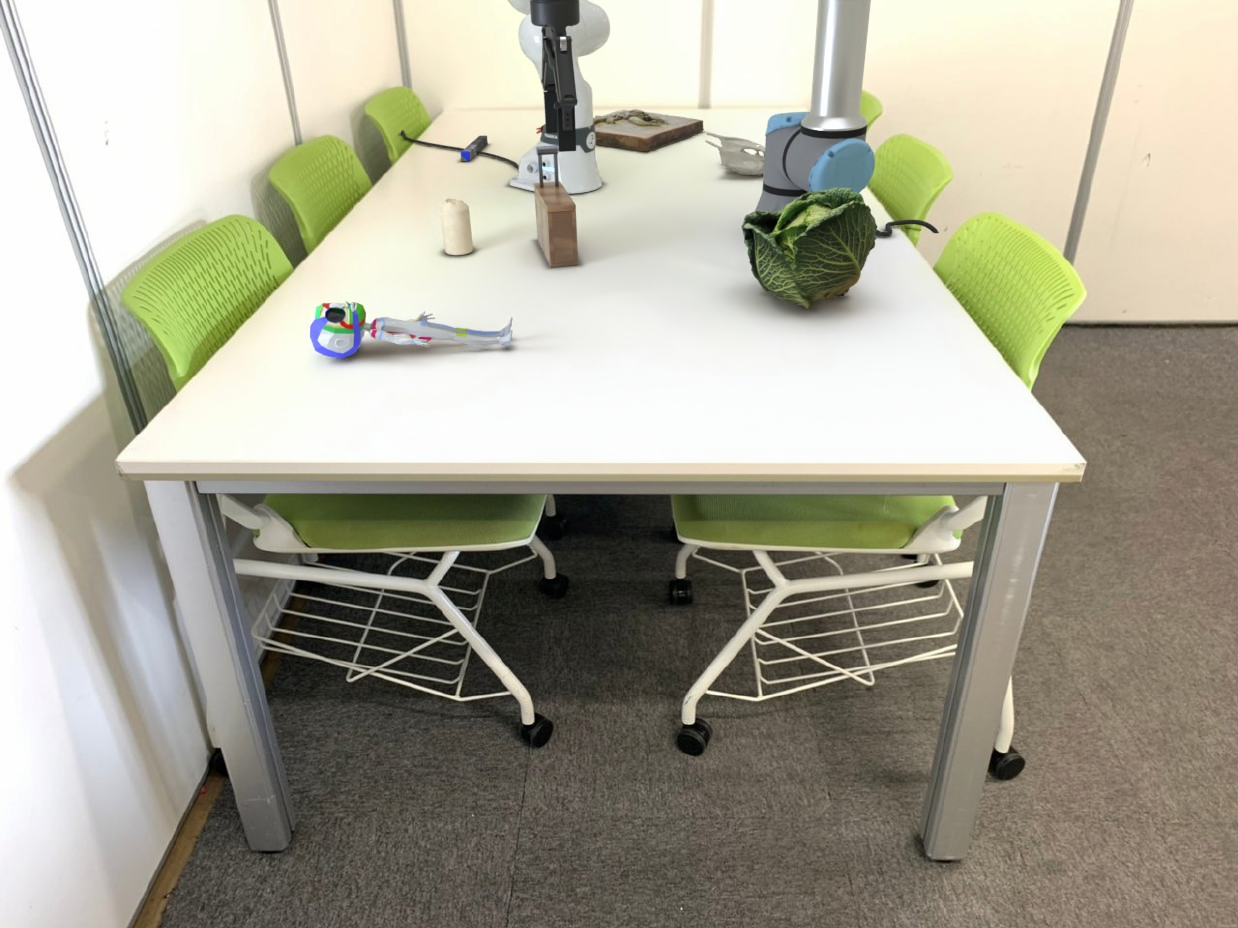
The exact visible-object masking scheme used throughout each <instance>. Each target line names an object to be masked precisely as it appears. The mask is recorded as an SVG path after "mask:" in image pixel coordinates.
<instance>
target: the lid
mask: <svg viewBox="0 0 1238 928" xmlns="http://www.w3.org/2000/svg"><path fill="white" fill-rule="evenodd" d="M536 152H537V155H538V168H539V183H534V189H535V191H536V193H537V195H538V197H539V198H540V200H541V202H542V204H543V205H544V207H545V209H546V211H547V212H561V211H573V210H576V211H577V204H576V203H575V201H574V200H573V198H572V197H571V195H570V194H568V193H567V191H566V190H565V188H564V187H563V185H562V184H561V182H560V181H559V176H558V156H557V154H558V146H557V145H554V146H540V147H536ZM551 154H553V157H554V176H555V182H544V183H543V167H542V155H551Z"/></svg>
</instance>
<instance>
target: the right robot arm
mask: <svg viewBox="0 0 1238 928" xmlns="http://www.w3.org/2000/svg"><path fill="white" fill-rule="evenodd" d="M871 4H872V0H817V13H816V27H815V39H814V41H815V42H814V56H813V71H812V83H811V84H812V85H811V95H810V97H811V98H810V99H811V100H810V110H809V111H794V112H782V113H775V114H773V115H771V116H770V117H769V118H768V120H767V125H766V131H765V135H764V136H765V143H764V144H765V146H764V147H765V159H764V174H762V175H763V177H762V192H761V195H760V197H759V200H758V202H757V205H756V207H755V209H754V212H755V211H758V210H762V211H774V212H777V211H779V210H781V209H784V208H785V207H786V205H787V204H789V203H791V202H792V201H793V200H795V199H796V198H798V197H800V196H802V195H804V194H806V193H809V192H814V191H824V190H829V189H831V188H832V187H834V188H836V187H840V188H852V190H853V191H854V192H856V193H859V194H861V192H862V191H863V190H864V189H866V187H867V186H868V185H869V183H870V182H871V179H872V177H873V175H874V172H875V167H876V156H875V153H874V150H873V149H872V148H871V146H870V144H869V143H868V142H866V139H867V131H868V120H867V119H866V118H865V117H864V115H863V114H862V113H861V103H862V93H863V83H864V72H865V63H866V52H867V43H868V34H869V22H870V13H871ZM530 11H531V23H532V24H533V25H535V26H539V27H542V29H541V32H542V80H541V81H540V84H541V83H542V84H541V86H542V85H543V89H544V91H547V92H544V95H543V106H544V105H545V107H544V124H545V125H546V134H547V133H558V150H559V152H567V151H576V129H575V105H577V103H578V100H577V96H576V86H575V77H574V67H573V58H572V43H571V42H572V38H571V36H567V34H566V27H567V26H574V25H577V24H578V23H579V22H580V8H579V0H530ZM543 89H542V90H543ZM904 225H916V226H922V227H924V228H926V229H928V230H929V231H931V233H932V234H940V232H939V230H938V229H937V228H936V227H935V226H934V225H933V224H931V223H929V222H927V221H925V220H921V219H902V220H894V221H893V220H892V221H889V222H886V223H885V230H886V231H881V230H879V229H878V228H877V229H876V234H875V236H878V237H890V236H891V235H893V229H892V227H896V226H904Z"/></svg>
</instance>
